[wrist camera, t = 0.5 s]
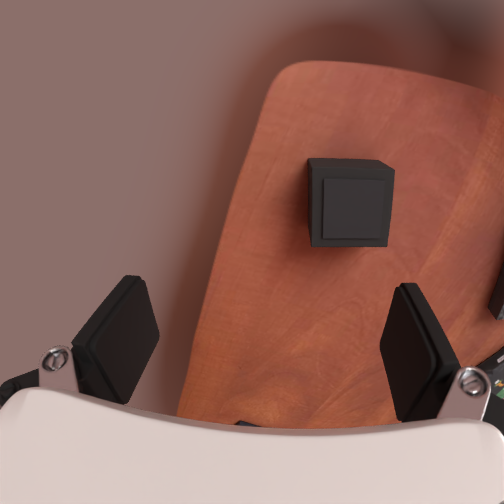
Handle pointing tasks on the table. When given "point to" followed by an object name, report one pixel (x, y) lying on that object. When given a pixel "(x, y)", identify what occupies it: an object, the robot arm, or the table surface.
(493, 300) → the docking pad
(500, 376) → the disk drive
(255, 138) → the table surface
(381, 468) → the robot arm
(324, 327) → the table surface
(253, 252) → the table surface
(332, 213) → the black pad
